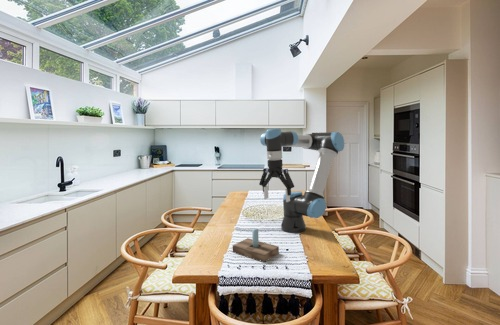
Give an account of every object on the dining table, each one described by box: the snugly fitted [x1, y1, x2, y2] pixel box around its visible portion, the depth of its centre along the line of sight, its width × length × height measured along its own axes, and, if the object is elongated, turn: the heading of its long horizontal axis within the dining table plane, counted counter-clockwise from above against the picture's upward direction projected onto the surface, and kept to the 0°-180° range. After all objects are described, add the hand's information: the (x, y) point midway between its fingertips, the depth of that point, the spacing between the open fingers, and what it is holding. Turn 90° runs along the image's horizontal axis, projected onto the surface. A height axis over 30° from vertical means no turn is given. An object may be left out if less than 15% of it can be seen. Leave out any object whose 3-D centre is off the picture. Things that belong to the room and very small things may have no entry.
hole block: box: [232, 237, 280, 263], centre depth 139 cm, size 12×20×4 cm, turn 50°
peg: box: [251, 228, 260, 248], centre depth 139 cm, size 3×3×12 cm
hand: (276, 200), depth 143 cm, fingers open, 13 cm apart
